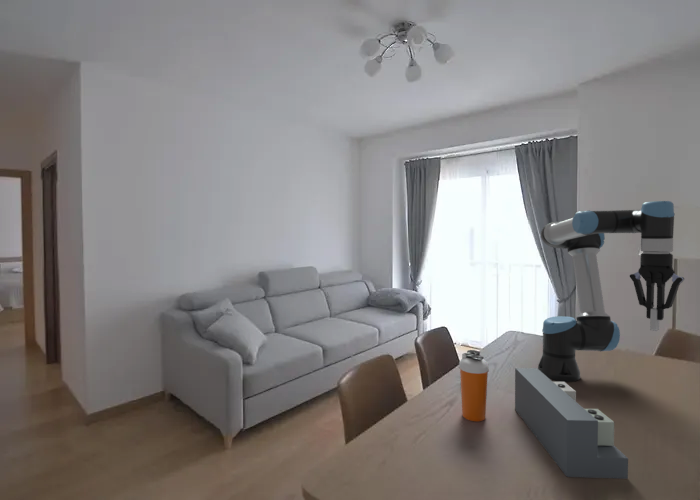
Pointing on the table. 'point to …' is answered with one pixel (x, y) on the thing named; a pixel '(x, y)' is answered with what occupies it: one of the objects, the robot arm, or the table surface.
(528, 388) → the grey stepped stand
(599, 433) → the key two
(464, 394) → the shaker bottle
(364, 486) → the table surface
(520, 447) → the table surface
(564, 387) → the key one
